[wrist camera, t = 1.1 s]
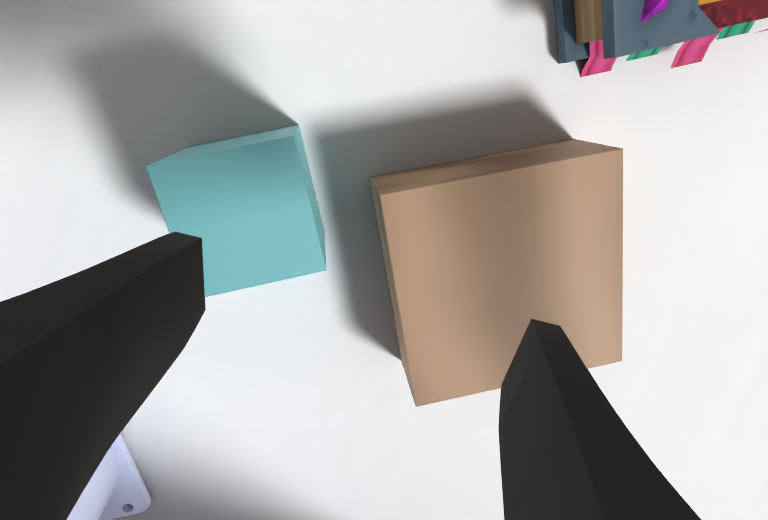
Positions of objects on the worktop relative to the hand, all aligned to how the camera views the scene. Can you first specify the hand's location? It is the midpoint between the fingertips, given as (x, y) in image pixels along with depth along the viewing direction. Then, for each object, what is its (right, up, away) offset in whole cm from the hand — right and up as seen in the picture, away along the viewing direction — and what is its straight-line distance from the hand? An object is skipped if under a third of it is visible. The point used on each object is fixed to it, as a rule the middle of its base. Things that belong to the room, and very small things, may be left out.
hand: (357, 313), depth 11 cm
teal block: (-5, +4, +10) cm, 11 cm away
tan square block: (+5, +1, +12) cm, 13 cm away
